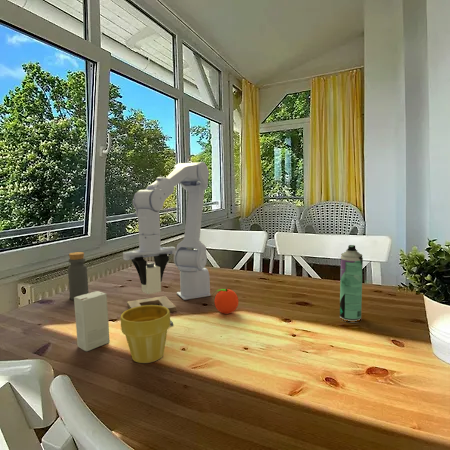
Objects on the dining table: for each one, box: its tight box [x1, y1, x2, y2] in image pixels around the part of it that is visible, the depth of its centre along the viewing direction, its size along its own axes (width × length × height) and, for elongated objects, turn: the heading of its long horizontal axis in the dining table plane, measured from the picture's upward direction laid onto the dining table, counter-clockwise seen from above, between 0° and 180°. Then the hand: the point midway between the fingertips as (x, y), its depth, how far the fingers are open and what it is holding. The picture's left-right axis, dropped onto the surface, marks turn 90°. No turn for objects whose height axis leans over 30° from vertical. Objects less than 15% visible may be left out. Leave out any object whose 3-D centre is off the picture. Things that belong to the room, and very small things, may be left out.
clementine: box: [214, 288, 240, 315], centre depth 102 cm, size 8×7×7 cm
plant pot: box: [120, 304, 171, 364], centre depth 76 cm, size 10×10×10 cm
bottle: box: [67, 251, 89, 301], centre depth 118 cm, size 6×6×15 cm
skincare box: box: [73, 290, 110, 352], centre depth 82 cm, size 6×4×12 cm
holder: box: [126, 295, 177, 313], centre depth 107 cm, size 12×12×1 cm
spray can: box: [339, 244, 364, 321], centre depth 95 cm, size 6×6×20 cm
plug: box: [140, 262, 162, 295], centre depth 98 cm, size 4×4×8 cm
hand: (151, 282), depth 98 cm, fingers closed on plug, 4 cm apart
